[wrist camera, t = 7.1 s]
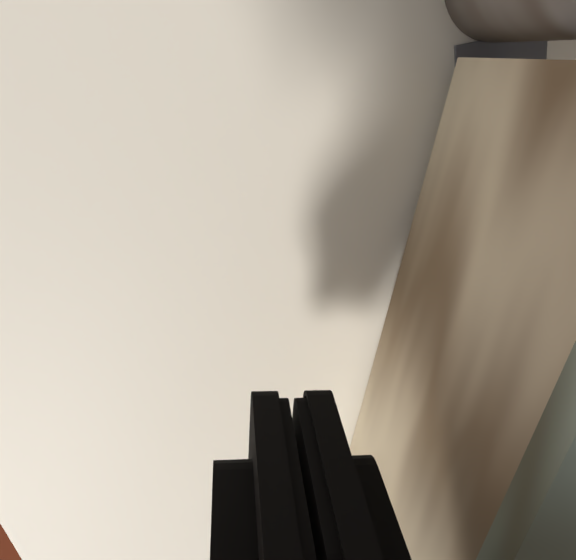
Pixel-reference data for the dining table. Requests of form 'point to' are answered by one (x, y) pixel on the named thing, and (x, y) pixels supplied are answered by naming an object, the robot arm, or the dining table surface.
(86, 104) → the card
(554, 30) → the fence base
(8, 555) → the dining table surface
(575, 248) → the fence panel
